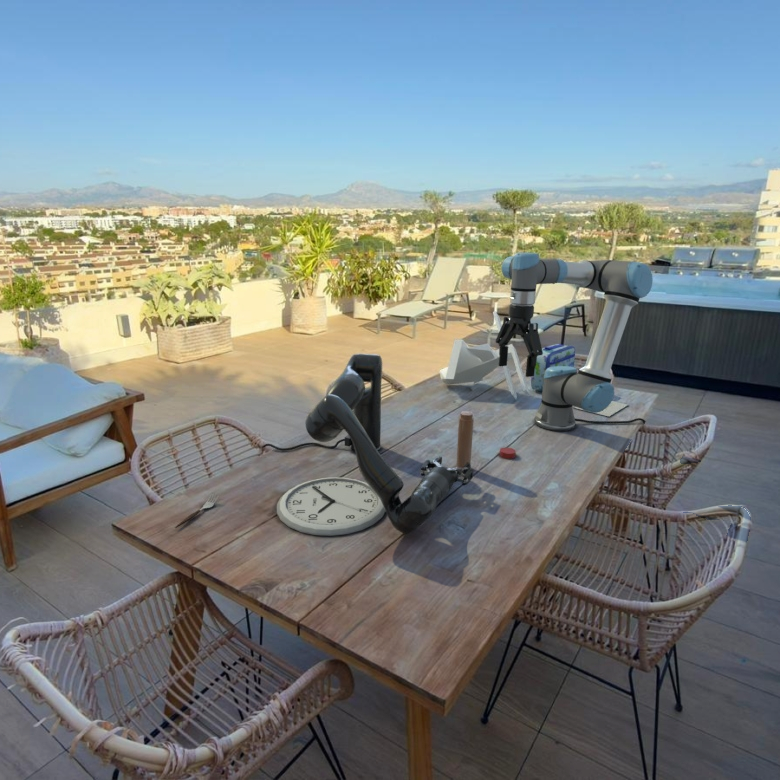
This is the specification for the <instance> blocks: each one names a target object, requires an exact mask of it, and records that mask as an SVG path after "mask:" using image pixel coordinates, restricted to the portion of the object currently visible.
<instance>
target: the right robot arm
mask: <svg viewBox="0 0 780 780" xmlns="http://www.w3.org/2000/svg"><path fill="white" fill-rule="evenodd" d="M501 273H502V276H503V277H504V278H506V279H508V280H511V281H510V282H511V283H510V295H509V303H510V304H509V306H508V316H504V317H503V320H502V323H501V324H502V327H501V329H500V331H498V334H497V336H496V338H495V343H496V344H498V346H499V348H498V349H499V355H500V357H499V367H502V366H507V365H508V361H507V357H508V346H507V345H509V343H510V341H511V340H512V339H513V337H514V336H515V335H518V336H520V337H521V339H522V340H523V341H524V345H525V347H526V350H527V352H528V355H527V357H526V366H525V377H526V378H529V377H530V378H531V376H534V371H535V366H536V362H537V356H539V355H542V354H543V352H542V348H543V347H542V343H541V339H540V338H541V337H540V334H539V323H538V322H532V323H531V320H532V318H533V317H534V313H535V306H534V305H535V304H536V293H537V285H550V284H551V285H555V284H567V285H574V286H575V287H577V288H580V289H581V288H582V289H588V290H592V291H596V292H599V293H604V294H603V298H604V300H605V305H604V307H603V310H602V314H601V317H600V319H599V323H598V326H597V328H596V331H595V335H594V337H593V340H592V343H591V345H590V350H589V353H588V354H587V358H586V361H585V364H584V366H582V367H580V368H579V369H577V367H575V366H574V367H569V366H555V367H549V368H547V369H546V370H545V374H544V378H543V379H544V380H543V390H542V391H541V402H540V405H539V407H538V410H537V411H536V413H535V416H534V424H535V425H536V426H537V427H539V428H542V429H544V430H549V431H556V432H567V431H572V430H574V429H575V428H576V422H581V423H586V424H599V425H600V424H602V425H603V424H604V425H605V424H608V425H609V424H616V425H617V424H630V423H634V422H638V421H641V422H643V423H646V422H647V421H646V420H645V419H644V418H641V417H637V418H634V419H630V420H603V421H602V420H586V419H581V418H575V417H576V416H575V413H574V407H578V408H581V409H583V410H582V411H584V410H586V411H585V412H588V411H590V412H589V413H592V412H594V413H593V414H596V413H597V412H601V411H603V410H604V409H606V408H607V407H608V406H609V404H610V403H611V401H614V400H613V399H614V397H615V387H614V385H613V384H612V380H613V377H612V376H611V374H610V372H611V369H612V366H613V363H614V360H615V357H616V355H617V351H618V349H619V345H620V342H621V341H622V337H623V334H624V331H625V329H626V325H627V322H628V320H629V316H630V313H631V311H632V308H633V307H635V306H637V305H639V302H640V300H641V299H643V298H645V297H647V296H648V295H649V293H650V292H651V290H652V287H653V278H654V277H653V273H652V270H651V267H650V266H649V265H648V264H646V263H644V262H640V261H634V260H632V261H630V260H629V261H627V260H613V259H599V260H579V261H578V262H574V261H564V260H563V259H562V258H561V259H560V258H540V255H539V253H536V252H516V253H515V254H514V255H513V256H507V257H506V258H505V259H504V260H503V262H502V264H501Z"/></svg>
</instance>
